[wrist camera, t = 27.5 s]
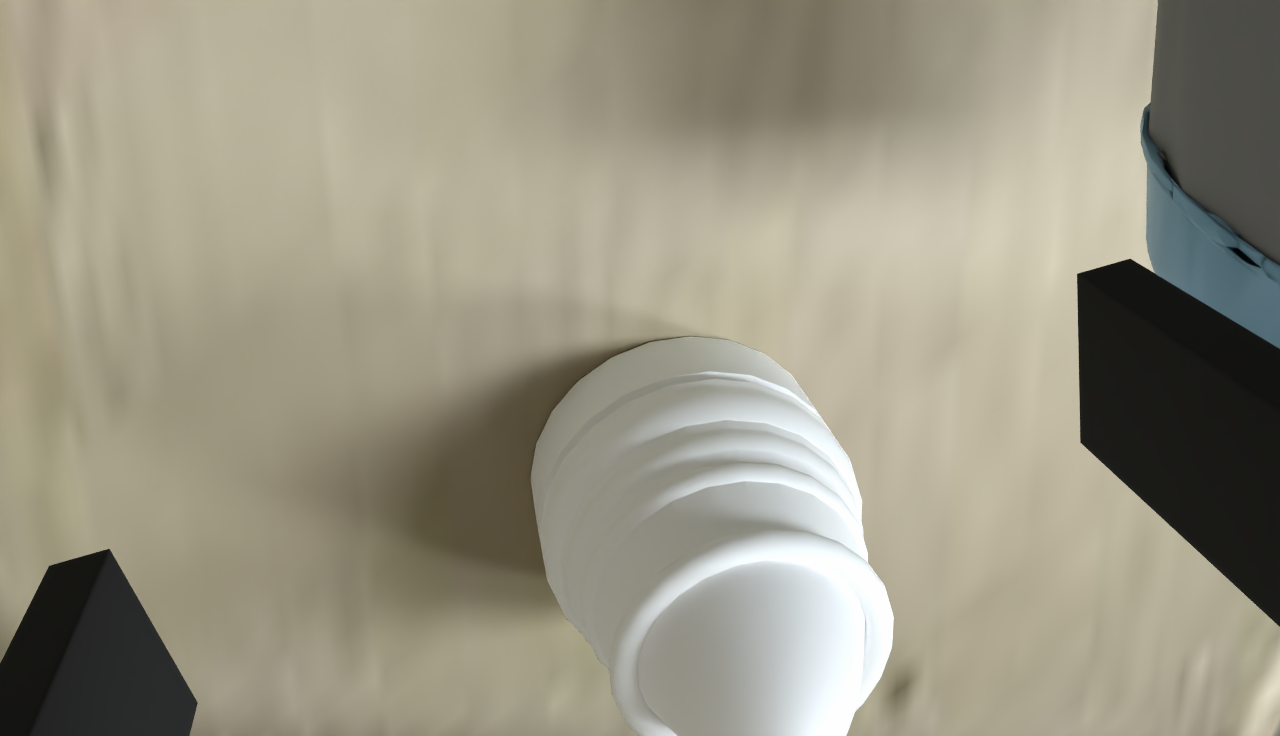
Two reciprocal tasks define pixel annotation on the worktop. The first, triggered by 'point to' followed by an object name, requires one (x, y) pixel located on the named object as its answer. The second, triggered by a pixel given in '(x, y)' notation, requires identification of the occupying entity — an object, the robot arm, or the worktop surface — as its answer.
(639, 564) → the honey pot
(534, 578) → the worktop surface
